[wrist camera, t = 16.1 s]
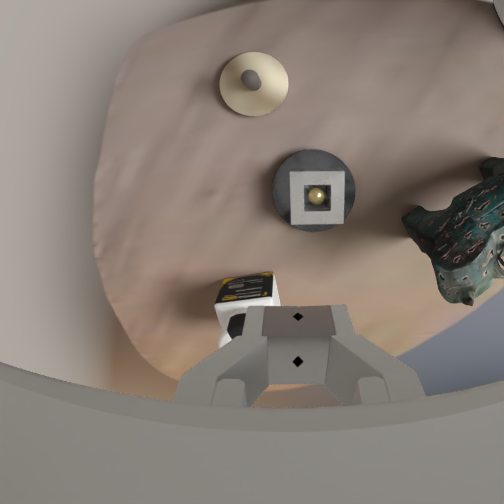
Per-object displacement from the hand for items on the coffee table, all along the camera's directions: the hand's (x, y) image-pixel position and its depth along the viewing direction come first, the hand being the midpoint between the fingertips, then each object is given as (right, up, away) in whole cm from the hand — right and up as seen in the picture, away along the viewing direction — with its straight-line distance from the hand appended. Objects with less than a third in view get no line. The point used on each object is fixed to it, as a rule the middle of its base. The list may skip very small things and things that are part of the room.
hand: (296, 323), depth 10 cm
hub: (+6, +10, +29) cm, 31 cm away
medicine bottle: (-1, -4, +36) cm, 36 cm away
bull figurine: (+26, +10, +27) cm, 39 cm away
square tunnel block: (+6, +9, +28) cm, 30 cm away
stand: (-1, +22, +25) cm, 33 cm away
